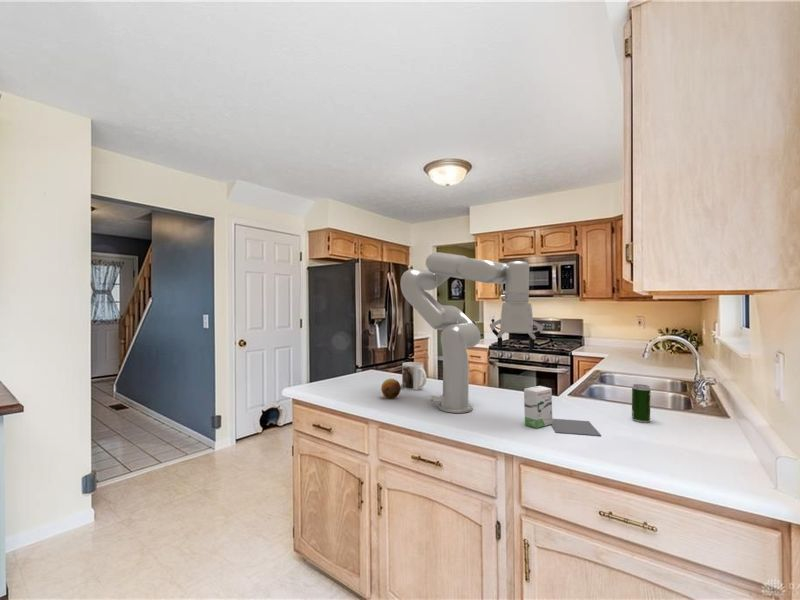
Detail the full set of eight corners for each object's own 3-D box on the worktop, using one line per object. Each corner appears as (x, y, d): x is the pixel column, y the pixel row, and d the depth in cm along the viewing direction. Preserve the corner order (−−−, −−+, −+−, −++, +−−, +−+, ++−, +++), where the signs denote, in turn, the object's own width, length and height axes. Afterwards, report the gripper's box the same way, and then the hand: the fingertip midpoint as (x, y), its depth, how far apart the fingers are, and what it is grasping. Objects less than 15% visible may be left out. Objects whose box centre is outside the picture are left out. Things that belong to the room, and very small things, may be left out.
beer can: (635, 422, 130) (635, 387, 130) (629, 417, 136) (629, 383, 136) (653, 423, 129) (653, 387, 129) (646, 418, 134) (646, 384, 134)
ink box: (536, 428, 123) (535, 391, 123) (523, 424, 127) (522, 388, 127) (553, 423, 127) (552, 387, 127) (540, 419, 131) (539, 385, 132)
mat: (555, 432, 119) (555, 431, 119) (548, 419, 133) (548, 418, 133) (601, 436, 117) (601, 435, 117) (588, 422, 130) (588, 421, 130)
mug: (423, 385, 184) (423, 362, 184) (426, 391, 172) (427, 366, 172) (401, 385, 183) (401, 362, 183) (403, 391, 171) (403, 366, 171)
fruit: (404, 398, 159) (404, 378, 159) (389, 401, 153) (390, 381, 153) (391, 394, 165) (391, 376, 165) (377, 398, 159) (377, 378, 159)
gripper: (490, 298, 127) (489, 350, 127) (546, 299, 123) (544, 352, 124) (489, 298, 134) (488, 347, 134) (542, 299, 131) (540, 349, 131)
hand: (515, 350), depth 129 cm, fingers open, 9 cm apart
